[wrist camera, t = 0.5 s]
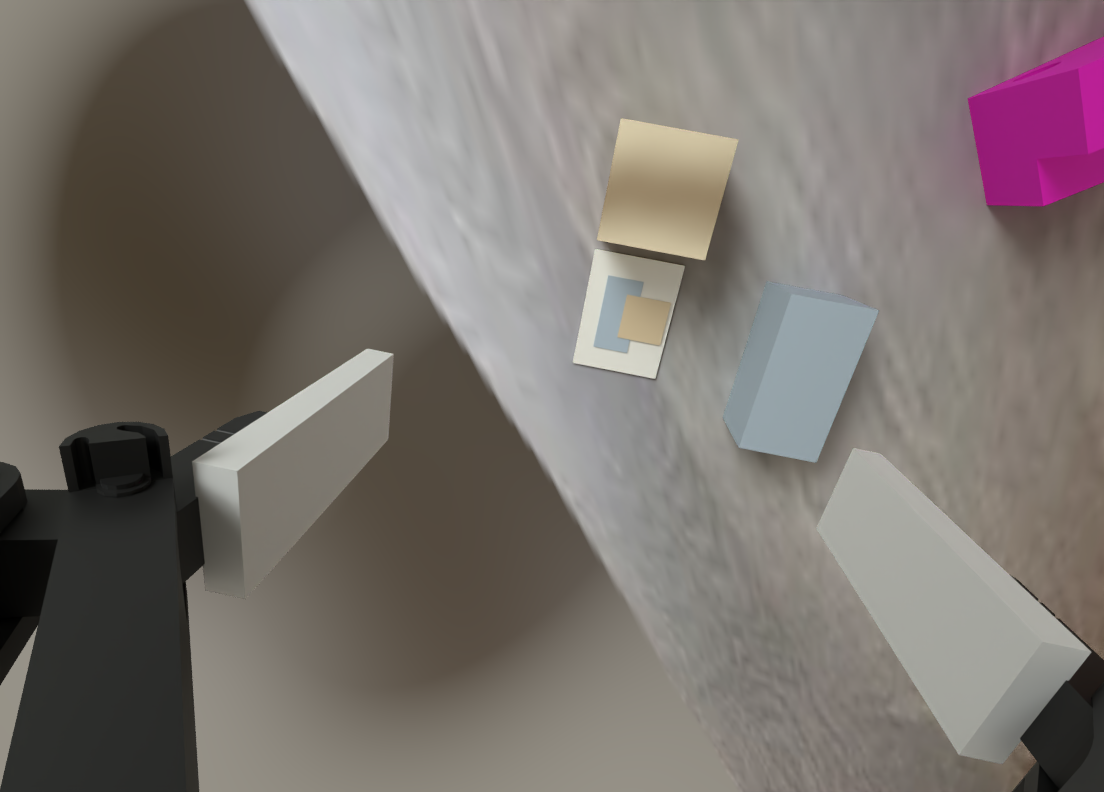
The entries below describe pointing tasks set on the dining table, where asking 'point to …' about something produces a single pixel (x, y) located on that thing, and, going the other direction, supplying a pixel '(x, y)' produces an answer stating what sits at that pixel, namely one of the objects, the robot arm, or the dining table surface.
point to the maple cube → (665, 188)
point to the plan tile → (627, 313)
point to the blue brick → (796, 370)
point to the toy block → (1043, 130)
